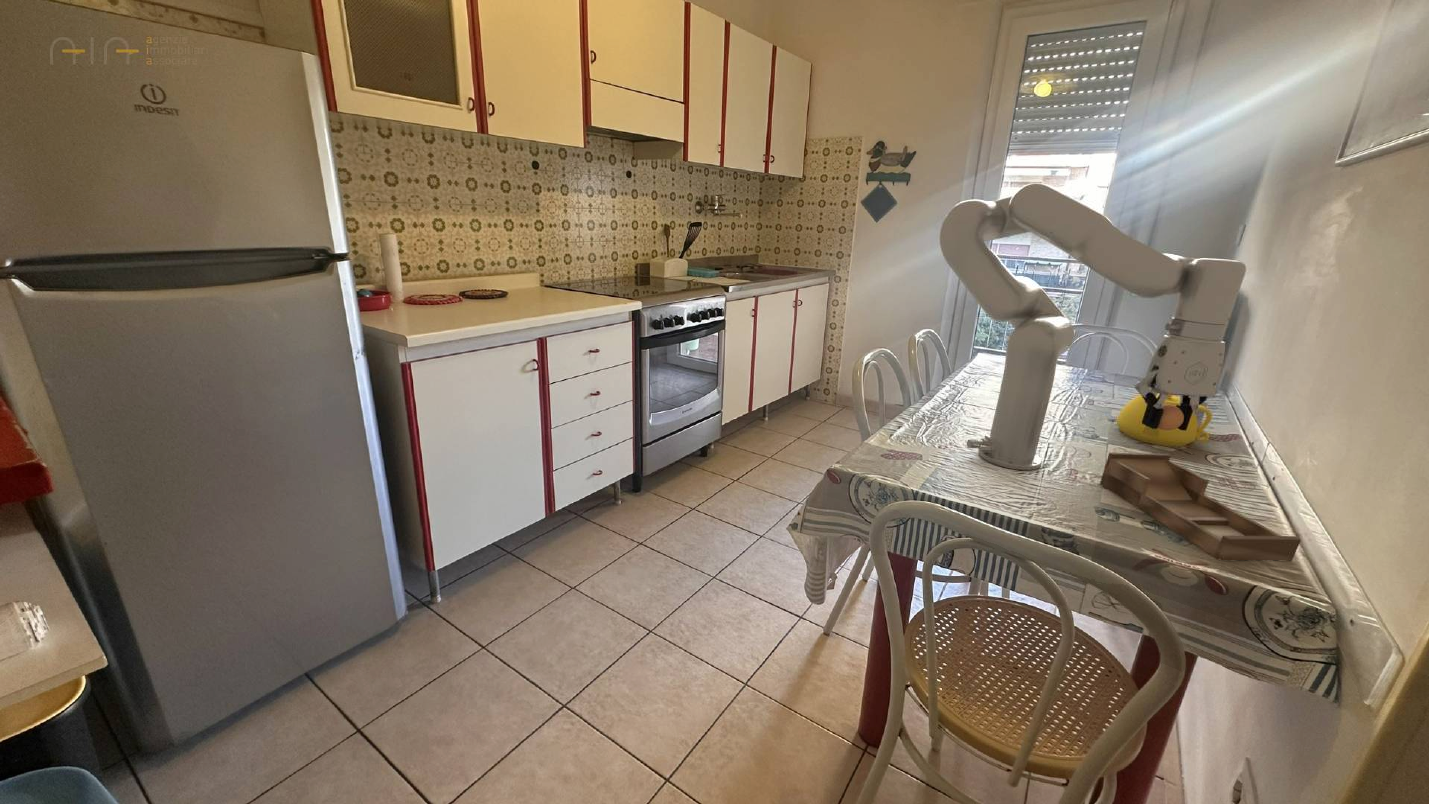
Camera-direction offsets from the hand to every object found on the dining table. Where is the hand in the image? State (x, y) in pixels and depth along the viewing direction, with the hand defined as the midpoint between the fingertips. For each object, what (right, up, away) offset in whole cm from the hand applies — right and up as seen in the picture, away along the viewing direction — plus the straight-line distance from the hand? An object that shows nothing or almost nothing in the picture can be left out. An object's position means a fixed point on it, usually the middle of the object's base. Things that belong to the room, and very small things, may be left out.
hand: (1163, 426), depth 104 cm
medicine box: (+42, -3, +47) cm, 64 cm away
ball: (0, +2, -1) cm, 2 cm away
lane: (+3, -17, -1) cm, 17 cm away
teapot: (+29, -5, +38) cm, 48 cm away
